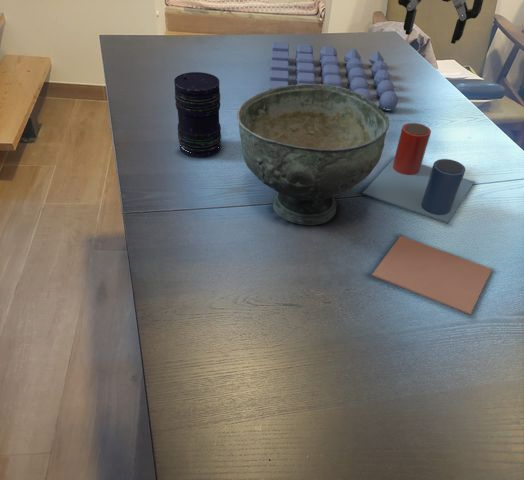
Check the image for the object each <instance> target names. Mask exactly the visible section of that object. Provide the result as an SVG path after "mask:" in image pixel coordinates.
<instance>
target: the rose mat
mask: <svg viewBox="0 0 524 480" xmlns="http://www.w3.org/2000/svg"><path fill="white" fill-rule="evenodd" d="M492 271H493V269H492V268H490V267H487V266H485V265H483V264H482V265H481V264H479V263H476V262H474V261H472V260H469V259H465V258H463V257H460V256H457V255H455V254H452V253H449V252H446V251H443V250H441V249H438V248H435V247H433V246H430V245H428V244H425V243H423V242H422V243H421V242H419V241H416V240H414V239H410V238H408V237H405V236H403V235H399V237H398V238H397V240H396V241H395V243H394V244H393V245H392V246H391V248H390V249H389V251H388V252H387V254H386V255H385V256H384V257H383V259H382V260H381V262H380V263H379V264H378V266H377V267H376V268H375V270H374V271H373V273H372V274H371V277H374V278H377V279H379V280H381V281H384V282H386V283H389V284H391V285H394V286H396V287H399V288H402V289H404V290H406V291H409V292H412V293H414V294H416V295H419V296H422V297H424V298H427V299H429V300H431V301H434V302H437V303H439V304H441V305H444V306H446V307H449V308H450V309H454V310H457V311H459V312H461V313H463V314H466V315H469V316H470V315H472V312H473V310H474V308H475V306H476V304H477V302H478V300H479V297H480V295H481V293H482V291H483V290H484V288H485V285H486V283H487V281H488V279H489V277H490V274H491V273H492Z"/></svg>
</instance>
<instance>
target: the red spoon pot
mask: <svg viewBox="0 0 524 480" xmlns="http://www.w3.org/2000/svg"><path fill="white" fill-rule="evenodd" d="M431 133H432V130H431V128H429V127H428V126H426V125H424V124H422V123H418V122H409V123H405V124H403V125H402V127H401V130H400V135H399V139H398V141H397V142H398V143H397V147H396V151H395V154H394V157H393V159H394V162H393V169H394V170H395V171H396V172H398V173H401V174H404V175H414V174H417V173H418V172H419V171H420V168H421V165H423V160H424V157H425V154H426V150H427V147H428V143H429V140H430V138H431Z"/></svg>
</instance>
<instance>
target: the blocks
mask: <svg viewBox="0 0 524 480" xmlns="http://www.w3.org/2000/svg"><path fill="white" fill-rule="evenodd" d="M271 47H272V49H271V62H270V75H269V88H268V90H270V89H273V88H276V87H280V86H288V85H289V69H290V68H289V67H290V66H289V65H290V64H289V61H290V60H289V59H290V58H289V56H290V54H289V52H290V51H289V50H290V43H289V42H285V41H284V42H283V41H272V46H271ZM295 49H296V50H295V69H296V68H297V71H296V70H295V80H296V79H297V83H296V82H295V85H298V84H316V75H315V72H316V71H315V64H314V63H315V57H314V46H313V45H312V44H310V43H308V44H307V43H298V44H297V46H296V48H295ZM296 58H297V60H296ZM361 58H362V57H361V55H360V53H359V52H358V50H357V49H356V48H351V49H350V50H348V52H346V53H345V54H344V56H343V60H344V62H345V61H346V62H348V63H346V62H345V63H346V64H345V71H346V72H345V73H346V75H347V83H348V82H349V84H350V85H349V84H348V85H349V89H348V90H351V91H353V92H356V93H358V94H360V95H363V96H364V97H366V98H367V99H368V100H370V101H372V95H371V92H370V90H369V83H368V81H367V79H366V77H367V76H366V71H365V70H364V64H363V61H362V59H361ZM320 60H322V61H321V63H320V71H321V70H322V73H321V72H320V74H321V82H322V81H323V84H328V85H334V86H338V87H341V88H343V87H342V86H343V79H342V77H341V69H340V66H339V65H340V62H339V58H338V50H337V49H336V48H335V46H330V45H325V46H323V47H322V48H321V49H320V53H319V61H320ZM368 61H369V62H370V64H371V65H372V64H373V65H372V67H371V68H370V72H371V76H372V77H373V84H374V86H375V87H376V88H375V89H376V91H375V92H376V95H377V97H378V98H379V103H378V104H379V107H380V106H381V107H382V108H381V107H380V108H381V110H382V111H383V112H390V111H393V110H394V109H396V108H397V106H398V103H399V97H398V95H397V93H396V92H395V84H394V83H393V82H392V78H391V74H390V72H389V70H388V65H387V64H388V63H386V62H385V59H384V57H383V55H382V54H381V53H380V51H379V50H377V51H376V52H375V53H373V54H372V55H371V56H370V57H369V58H368ZM347 73H348V74H347ZM383 108H385V109H383ZM386 109H392V110H386Z"/></svg>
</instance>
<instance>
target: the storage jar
mask: <svg viewBox="0 0 524 480" xmlns="http://www.w3.org/2000/svg"><path fill="white" fill-rule="evenodd" d="M173 84H174V100H175V104H174V105H175V108H176V110H177V119H178V120H177V121H178V123H177V138H178V142H179V151H180V152H181V154H183V156H187V157H189V158H194V159H206V158H212V157H214V156H216V155H217V154H219V153H220V152H221V150H222V146H221V139H222V128H221V123H220V109H221V92H220V89H221V88H220V79H219V78H218V77H217V76H216V75H214V74H211V73H208V72H203V71H191V72H184V73H182V74H179V75H177V76H176V77H175V78H174V80H173ZM180 145H181V146H180ZM181 147H183V148H184V149H185V150H187V151H189V152H187V151H185V150H183V149H182V148H181ZM218 147H219V148H218ZM190 152H191V153H190Z"/></svg>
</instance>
